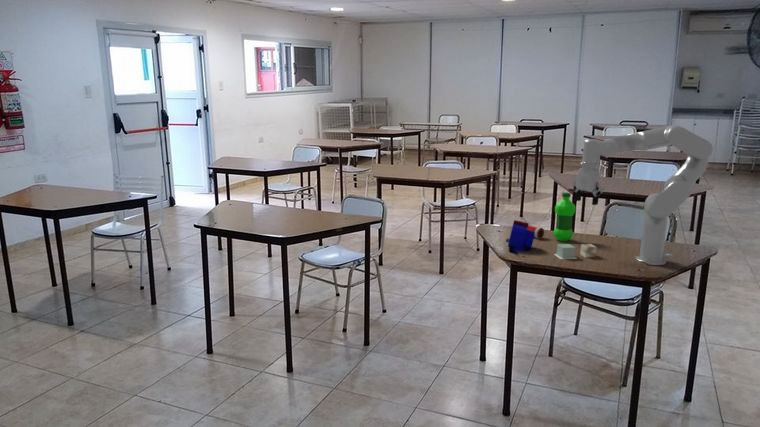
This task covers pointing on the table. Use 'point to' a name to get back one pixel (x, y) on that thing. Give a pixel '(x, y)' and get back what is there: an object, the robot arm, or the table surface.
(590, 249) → the maple cube
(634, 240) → the table surface
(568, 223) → the plastic bottle
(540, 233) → the toy hammer
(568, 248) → the sage block
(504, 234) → the table surface
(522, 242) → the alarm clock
